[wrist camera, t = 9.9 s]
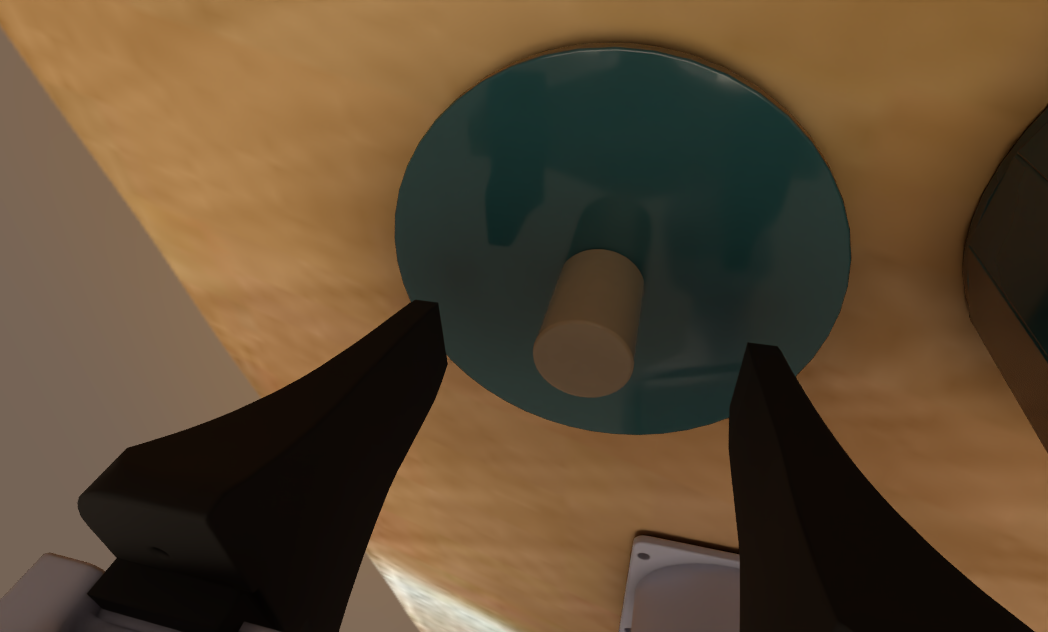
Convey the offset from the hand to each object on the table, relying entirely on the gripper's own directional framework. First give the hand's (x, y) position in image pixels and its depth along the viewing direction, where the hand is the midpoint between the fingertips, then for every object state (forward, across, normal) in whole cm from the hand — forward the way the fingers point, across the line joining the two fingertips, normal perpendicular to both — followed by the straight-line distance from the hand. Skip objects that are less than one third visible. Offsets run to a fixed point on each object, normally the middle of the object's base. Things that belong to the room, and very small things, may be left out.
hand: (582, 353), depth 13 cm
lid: (+3, 0, 0) cm, 4 cm away
